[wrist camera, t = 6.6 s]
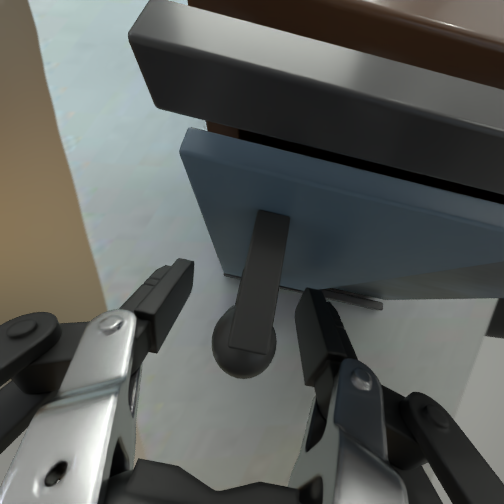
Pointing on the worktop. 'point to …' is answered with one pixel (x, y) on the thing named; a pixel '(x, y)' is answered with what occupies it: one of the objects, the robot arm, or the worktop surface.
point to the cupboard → (347, 96)
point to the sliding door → (319, 232)
